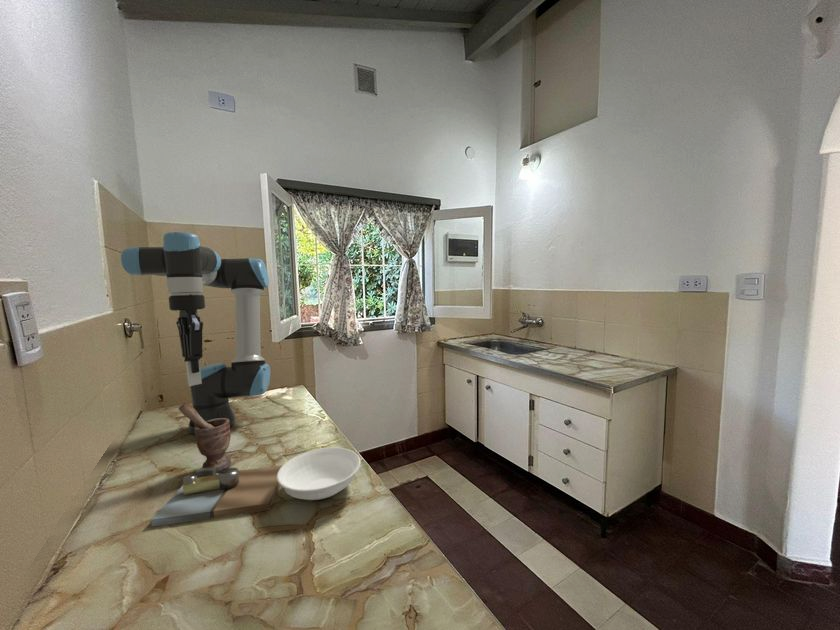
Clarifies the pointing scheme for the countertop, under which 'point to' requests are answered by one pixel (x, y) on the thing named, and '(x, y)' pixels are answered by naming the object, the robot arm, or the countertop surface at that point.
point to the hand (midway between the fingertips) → (195, 384)
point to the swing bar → (211, 481)
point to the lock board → (222, 498)
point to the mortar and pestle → (210, 438)
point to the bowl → (319, 473)
